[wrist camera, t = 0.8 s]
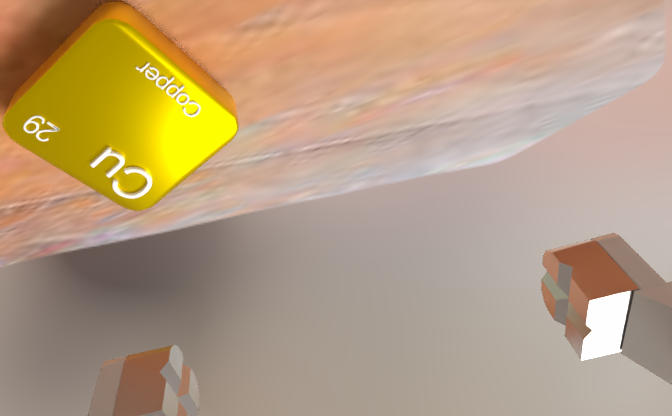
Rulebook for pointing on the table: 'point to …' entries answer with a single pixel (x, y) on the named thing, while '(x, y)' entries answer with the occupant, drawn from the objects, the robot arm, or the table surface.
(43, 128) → the element tile
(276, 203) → the table surface
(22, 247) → the table surface
